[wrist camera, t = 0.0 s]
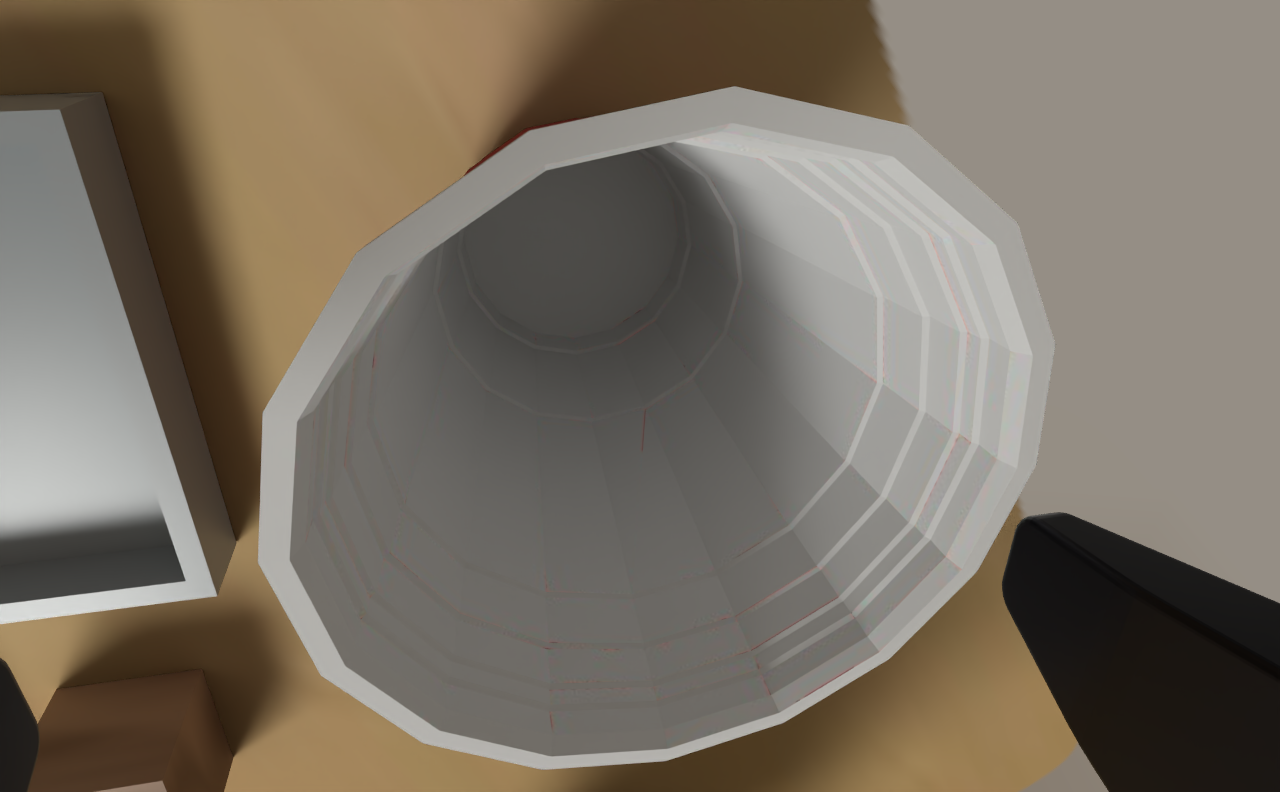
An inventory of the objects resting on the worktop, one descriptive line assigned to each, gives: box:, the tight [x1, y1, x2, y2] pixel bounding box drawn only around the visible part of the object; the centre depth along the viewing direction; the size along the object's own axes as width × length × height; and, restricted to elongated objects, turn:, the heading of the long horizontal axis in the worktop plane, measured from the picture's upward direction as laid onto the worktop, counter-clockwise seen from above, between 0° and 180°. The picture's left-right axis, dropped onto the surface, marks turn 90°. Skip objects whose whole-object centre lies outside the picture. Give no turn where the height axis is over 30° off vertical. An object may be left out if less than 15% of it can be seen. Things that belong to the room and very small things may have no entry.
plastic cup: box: [258, 86, 1055, 770], centre depth 16 cm, size 11×11×12 cm
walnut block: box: [28, 669, 233, 792], centre depth 24 cm, size 4×4×4 cm
